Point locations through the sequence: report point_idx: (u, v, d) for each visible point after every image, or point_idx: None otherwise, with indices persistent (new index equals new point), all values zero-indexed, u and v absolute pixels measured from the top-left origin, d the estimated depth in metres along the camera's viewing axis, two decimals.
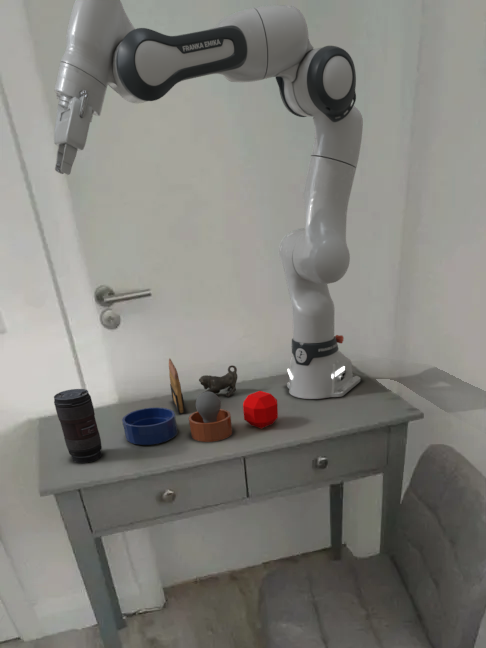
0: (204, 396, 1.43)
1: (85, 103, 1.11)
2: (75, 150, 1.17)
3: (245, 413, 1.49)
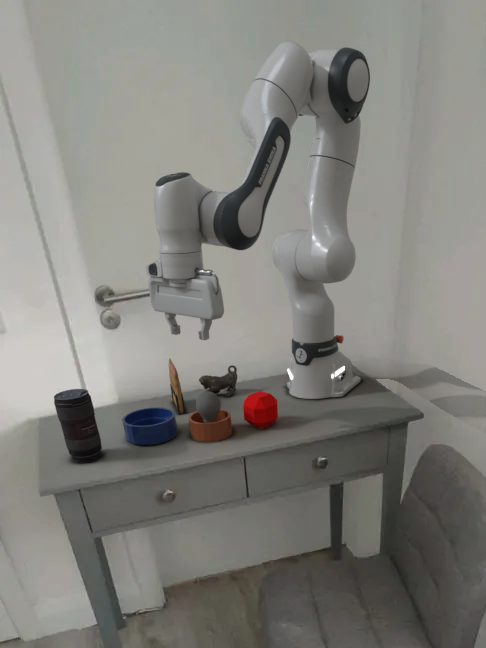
0: (204, 396, 1.43)
1: (218, 282, 1.24)
2: None
3: (245, 413, 1.49)
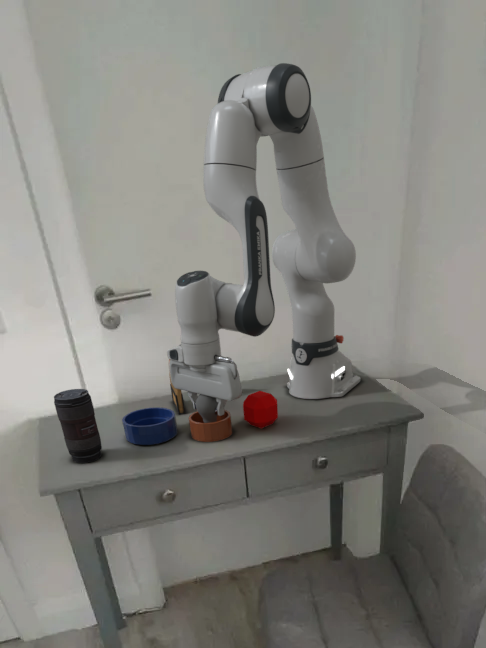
0: (204, 396, 1.43)
1: (236, 368, 1.34)
2: None
3: (245, 413, 1.49)
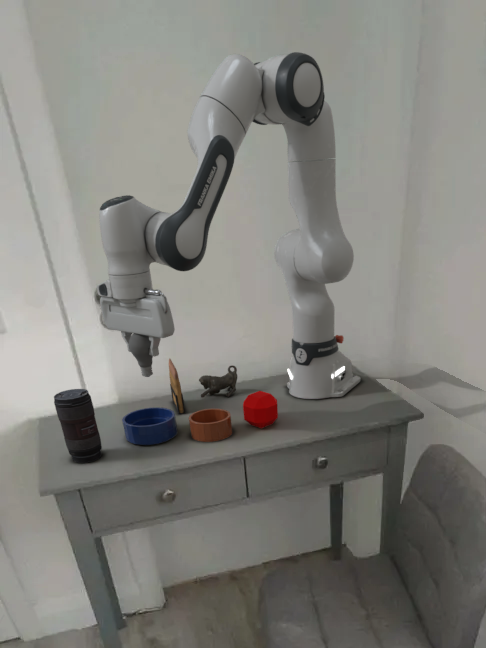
0: (137, 335, 1.35)
1: (166, 302, 1.27)
2: None
3: (245, 413, 1.49)
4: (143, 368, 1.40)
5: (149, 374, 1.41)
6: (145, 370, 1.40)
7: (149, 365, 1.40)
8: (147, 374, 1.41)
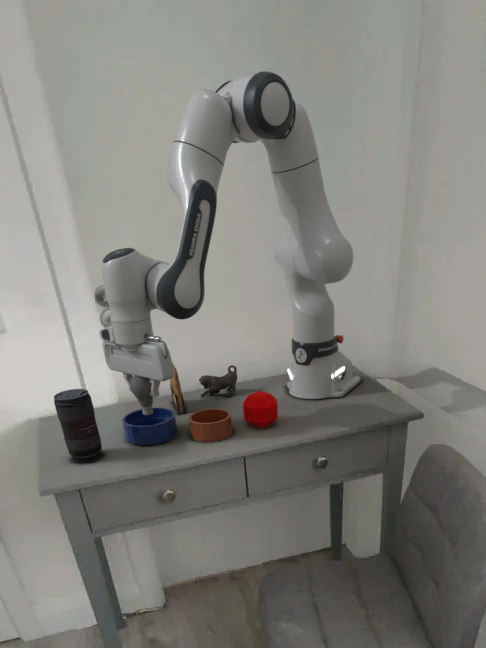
0: (138, 377, 1.41)
1: (166, 348, 1.32)
2: None
3: (245, 413, 1.49)
4: (144, 407, 1.46)
5: (150, 413, 1.47)
6: (146, 409, 1.46)
7: (150, 405, 1.45)
8: (148, 412, 1.46)
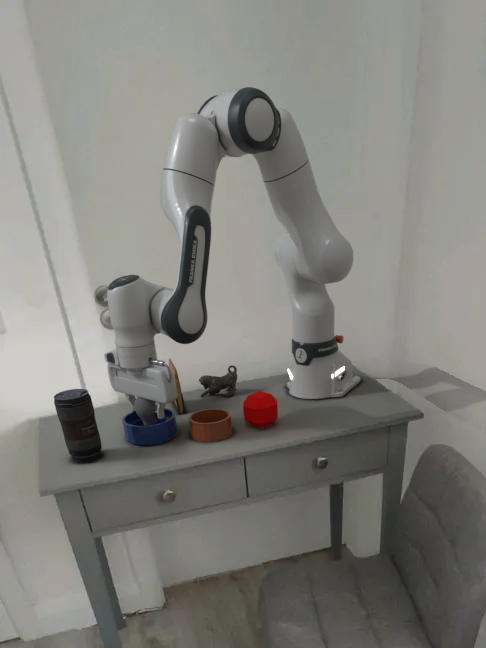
0: (142, 398, 1.44)
1: (170, 372, 1.35)
2: None
3: (245, 413, 1.49)
4: None
5: None
6: None
7: (153, 424, 1.48)
8: None
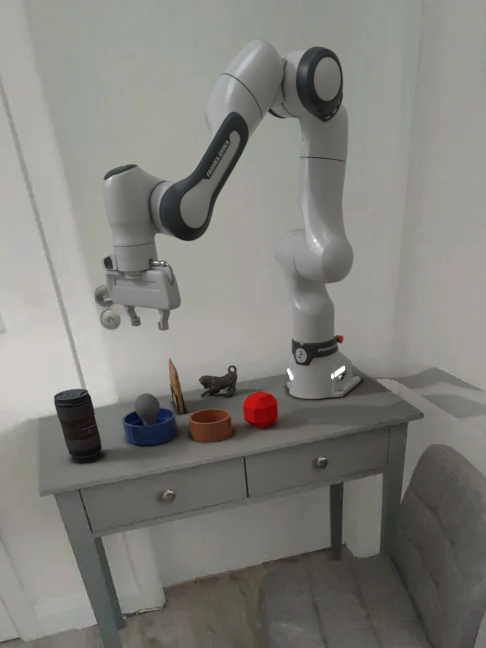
0: (142, 398, 1.44)
1: (172, 272, 1.25)
2: None
3: (245, 413, 1.49)
4: None
5: None
6: None
7: (153, 424, 1.48)
8: None
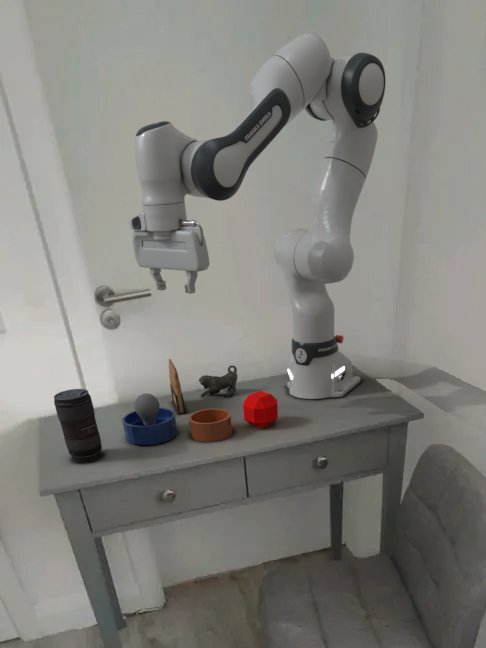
0: (142, 398, 1.44)
1: (202, 232, 1.24)
2: None
3: (245, 413, 1.49)
4: None
5: None
6: None
7: (153, 424, 1.48)
8: None
